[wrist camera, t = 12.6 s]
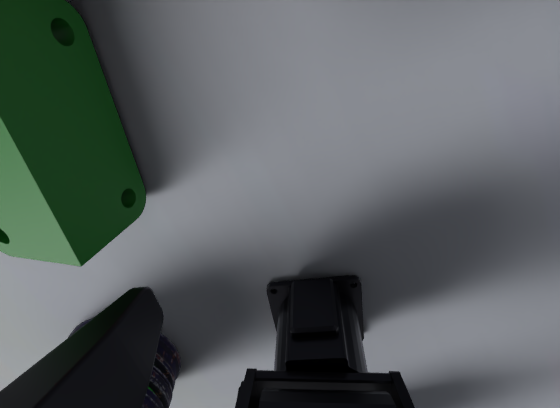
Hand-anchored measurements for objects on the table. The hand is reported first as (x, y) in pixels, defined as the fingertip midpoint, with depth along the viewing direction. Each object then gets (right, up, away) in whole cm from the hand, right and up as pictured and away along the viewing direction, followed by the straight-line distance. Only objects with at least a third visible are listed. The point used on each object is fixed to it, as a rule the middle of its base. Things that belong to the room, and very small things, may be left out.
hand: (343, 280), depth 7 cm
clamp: (-14, +6, +11) cm, 19 cm away
